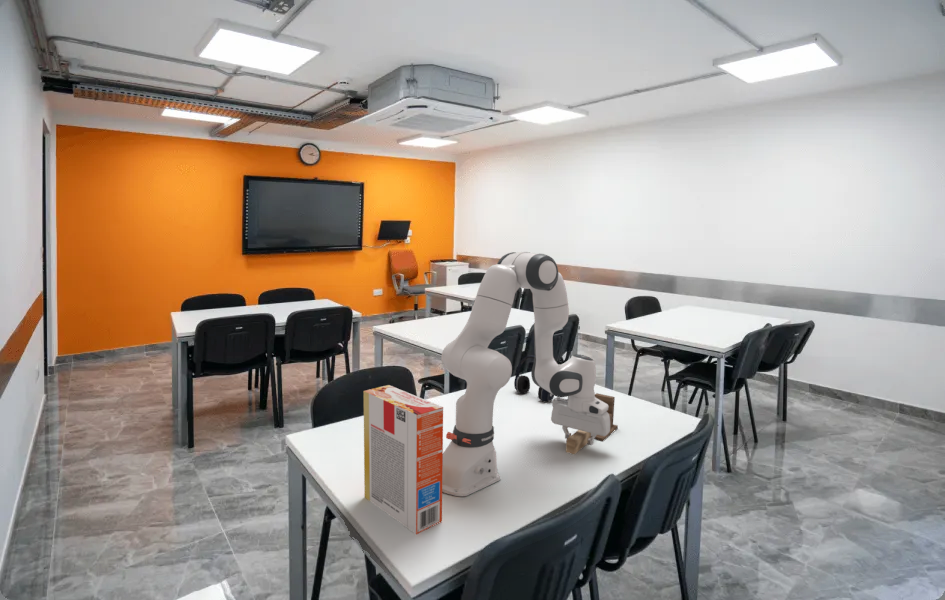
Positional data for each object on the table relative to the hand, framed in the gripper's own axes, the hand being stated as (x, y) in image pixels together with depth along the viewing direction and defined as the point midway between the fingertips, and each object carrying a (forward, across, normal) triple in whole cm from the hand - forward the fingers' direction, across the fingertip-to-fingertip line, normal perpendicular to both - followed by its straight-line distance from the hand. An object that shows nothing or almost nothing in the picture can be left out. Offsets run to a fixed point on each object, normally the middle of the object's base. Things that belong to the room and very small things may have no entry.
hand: (578, 441), depth 177 cm
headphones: (+2, -37, +36) cm, 52 cm away
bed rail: (+2, 0, 0) cm, 2 cm away
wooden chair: (+2, 0, +17) cm, 17 cm away
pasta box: (+2, -21, -65) cm, 69 cm away
